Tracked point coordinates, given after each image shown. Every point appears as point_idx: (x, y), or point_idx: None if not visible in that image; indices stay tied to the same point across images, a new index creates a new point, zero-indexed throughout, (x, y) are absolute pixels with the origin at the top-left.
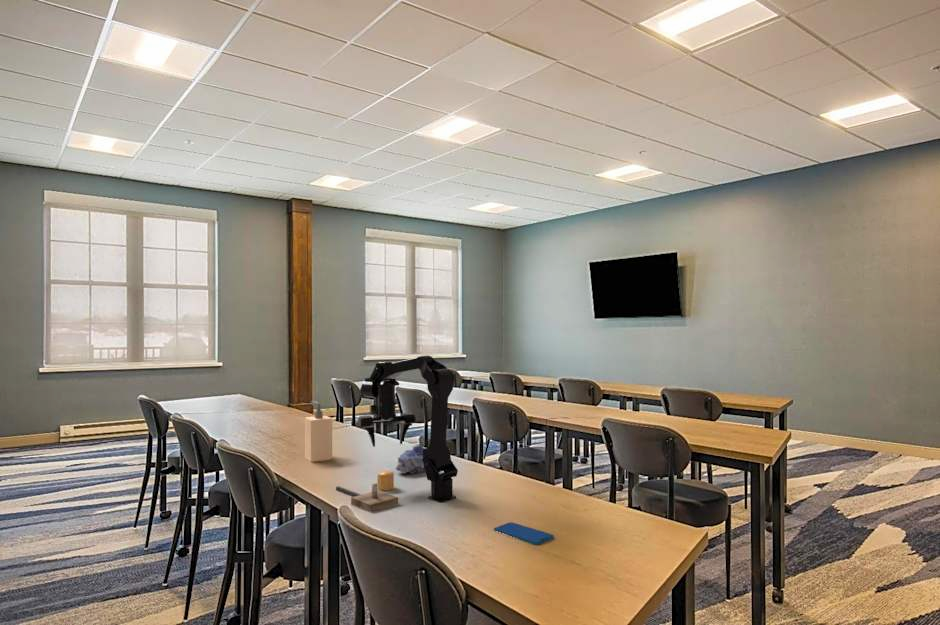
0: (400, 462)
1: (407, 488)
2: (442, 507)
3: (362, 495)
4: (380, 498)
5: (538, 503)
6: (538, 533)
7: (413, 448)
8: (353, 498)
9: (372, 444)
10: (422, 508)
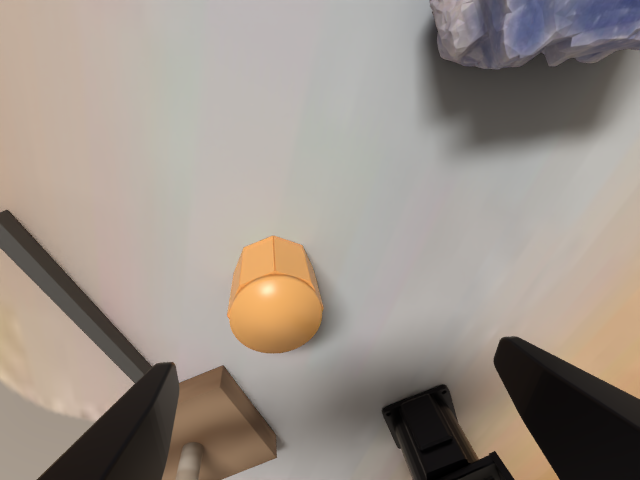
0: (482, 12)
1: (363, 297)
2: (383, 468)
3: None
4: (213, 459)
5: None
6: None
7: None
8: None
9: (140, 382)
10: (331, 468)
